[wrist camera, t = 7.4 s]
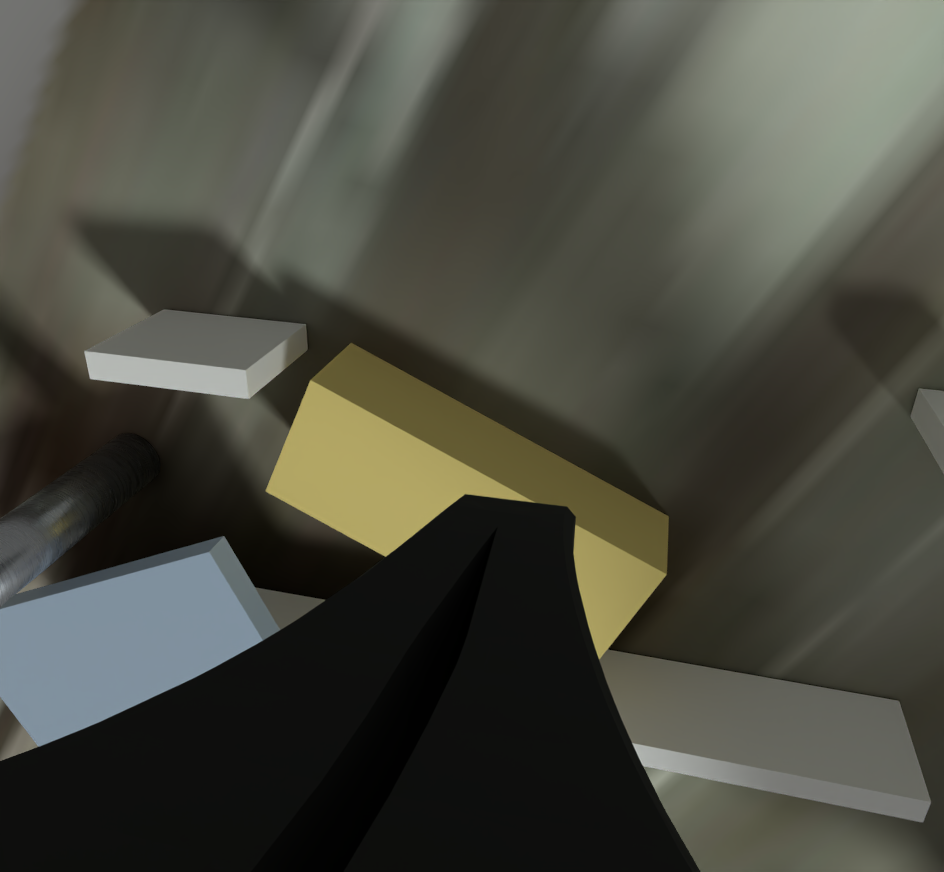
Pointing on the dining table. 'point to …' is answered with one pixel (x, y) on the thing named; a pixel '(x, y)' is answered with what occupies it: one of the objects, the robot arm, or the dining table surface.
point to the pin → (71, 509)
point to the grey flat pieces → (628, 675)
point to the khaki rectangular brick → (455, 480)
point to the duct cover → (124, 636)
